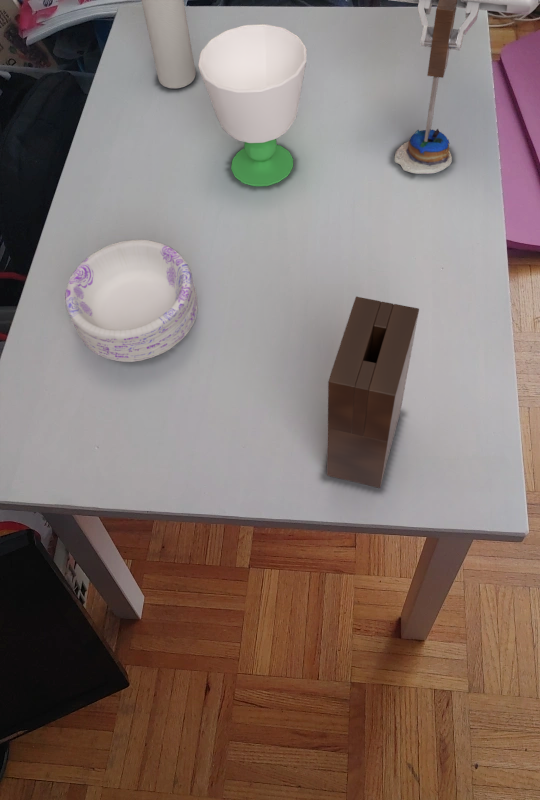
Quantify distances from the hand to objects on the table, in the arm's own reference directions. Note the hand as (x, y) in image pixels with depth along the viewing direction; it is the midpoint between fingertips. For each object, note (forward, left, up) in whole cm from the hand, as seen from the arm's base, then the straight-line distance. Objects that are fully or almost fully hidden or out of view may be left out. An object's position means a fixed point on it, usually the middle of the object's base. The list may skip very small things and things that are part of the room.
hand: (439, 47), depth 85 cm
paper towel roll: (+38, -21, -16) cm, 46 cm away
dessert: (0, -1, -16) cm, 16 cm away
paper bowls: (+36, +30, -16) cm, 50 cm away
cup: (+23, 0, -16) cm, 28 cm away
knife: (0, -1, -12) cm, 12 cm away
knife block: (+8, +46, -16) cm, 50 cm away
